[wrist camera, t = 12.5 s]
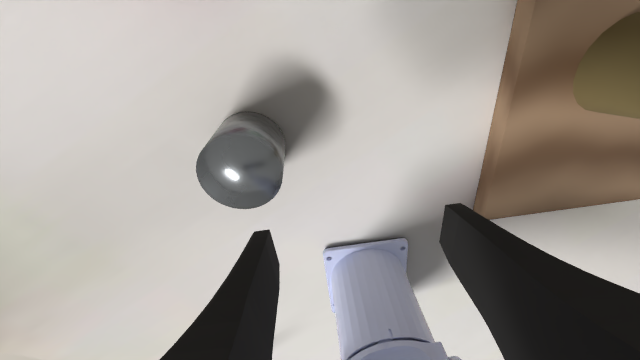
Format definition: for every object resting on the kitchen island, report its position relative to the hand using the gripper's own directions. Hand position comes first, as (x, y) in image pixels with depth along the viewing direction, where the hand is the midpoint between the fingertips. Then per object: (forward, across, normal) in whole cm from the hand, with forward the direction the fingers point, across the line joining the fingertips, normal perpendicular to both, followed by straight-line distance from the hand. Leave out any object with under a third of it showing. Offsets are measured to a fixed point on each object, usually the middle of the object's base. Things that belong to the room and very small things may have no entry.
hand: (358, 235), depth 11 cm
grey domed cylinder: (+10, +6, 0) cm, 12 cm away
